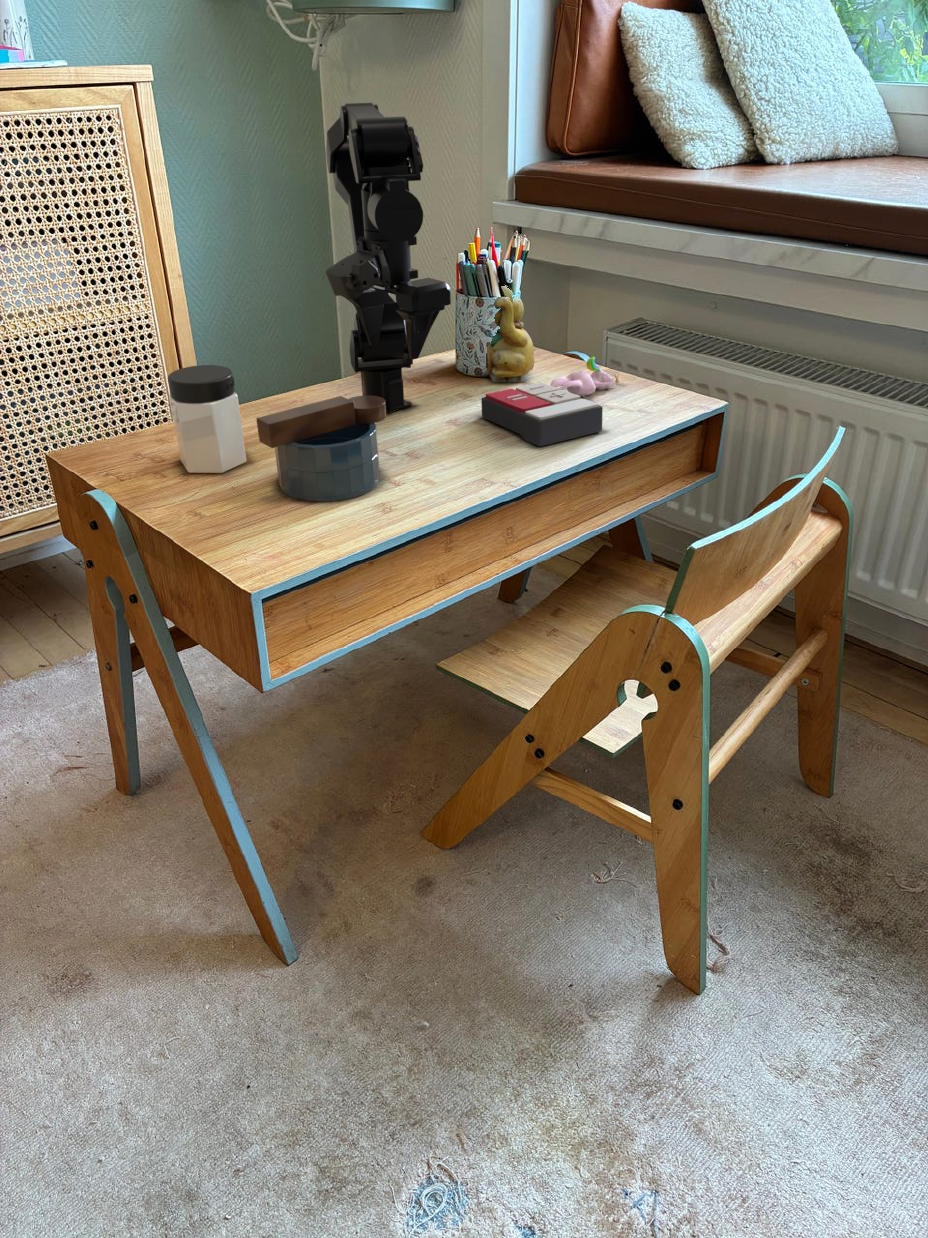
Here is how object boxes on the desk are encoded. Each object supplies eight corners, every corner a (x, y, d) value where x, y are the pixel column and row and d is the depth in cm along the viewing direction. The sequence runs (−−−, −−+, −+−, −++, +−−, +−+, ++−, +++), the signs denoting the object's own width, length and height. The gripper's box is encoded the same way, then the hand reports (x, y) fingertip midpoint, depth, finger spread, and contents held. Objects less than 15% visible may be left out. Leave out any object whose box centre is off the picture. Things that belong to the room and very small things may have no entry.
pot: (261, 479, 126) (254, 427, 122) (343, 455, 132) (339, 404, 129) (314, 510, 117) (308, 455, 114) (399, 482, 124) (396, 429, 120)
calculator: (541, 379, 147) (604, 400, 136) (542, 407, 149) (603, 431, 138) (479, 392, 142) (538, 415, 131) (480, 421, 145) (539, 446, 133)
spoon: (276, 451, 115) (273, 426, 113) (254, 439, 118) (251, 415, 117) (394, 417, 124) (393, 394, 123) (370, 407, 128) (369, 384, 126)
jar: (253, 467, 129) (240, 378, 123) (191, 479, 126) (175, 388, 120) (235, 446, 136) (223, 360, 130) (176, 456, 133) (160, 369, 127)
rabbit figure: (593, 388, 159) (536, 396, 148) (598, 350, 156) (541, 356, 146) (625, 396, 155) (569, 405, 145) (631, 357, 153) (575, 364, 142)
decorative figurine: (477, 370, 164) (476, 277, 156) (525, 366, 166) (526, 273, 158) (492, 387, 156) (492, 290, 148) (542, 383, 158) (544, 286, 150)
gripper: (292, 227, 126) (305, 349, 134) (377, 246, 113) (385, 379, 121) (364, 217, 132) (372, 334, 140) (452, 234, 119) (455, 361, 127)
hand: (393, 351), depth 132 cm, fingers open, 9 cm apart
